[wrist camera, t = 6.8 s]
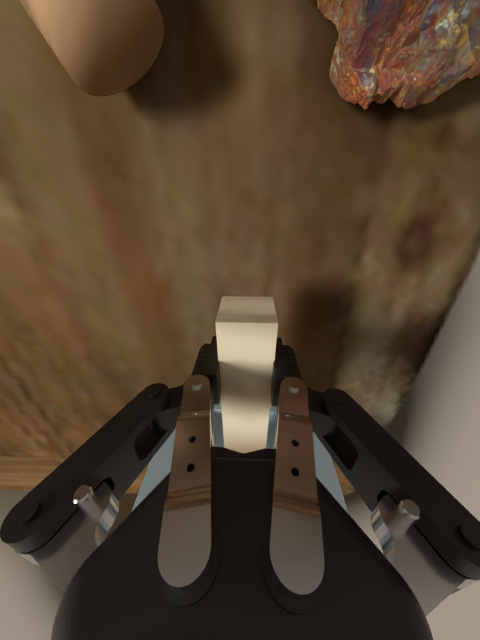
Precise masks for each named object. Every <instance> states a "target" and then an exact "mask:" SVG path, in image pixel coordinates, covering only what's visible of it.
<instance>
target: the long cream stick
mask: <svg viewBox="0 0 480 640" xmlns="http://www.w3.org/2000/svg"><path fill="white" fill-rule="evenodd" d="M277 330H278V320H277V315H276V311H275V306H274V301H273V297H234V296H222V299H221V303H220V307H219V311H218V315H217V318H216V336H217V351H218V361H219V365H220V379H221V407H222V421H223V435H224V448H227V449H230V450H233V451H237V452H240V453H248V452H252V451H256V450H261V449H265V448H266V443H267V433H268V422H269V412H270V402H271V381H272V371H273V362H274V361H275V351H276V340H277Z"/></svg>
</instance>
